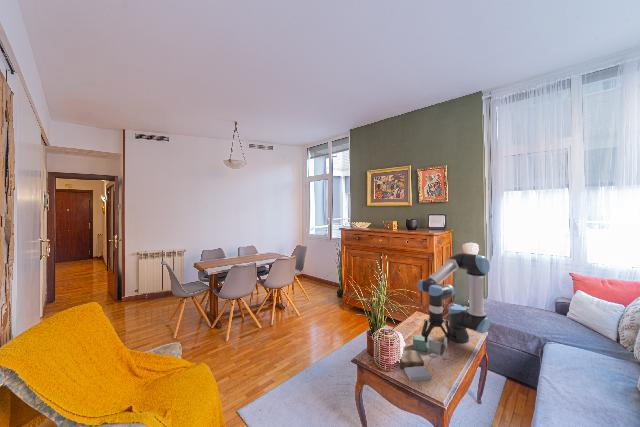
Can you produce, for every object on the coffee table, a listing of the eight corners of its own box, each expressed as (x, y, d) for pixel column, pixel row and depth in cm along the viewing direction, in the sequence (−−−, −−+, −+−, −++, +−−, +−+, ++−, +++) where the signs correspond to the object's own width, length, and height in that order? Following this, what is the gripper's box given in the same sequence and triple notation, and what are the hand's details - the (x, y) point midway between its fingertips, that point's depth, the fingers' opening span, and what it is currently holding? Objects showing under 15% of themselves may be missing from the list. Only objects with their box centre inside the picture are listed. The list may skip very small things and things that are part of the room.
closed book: (423, 369, 163) (423, 365, 163) (430, 379, 154) (430, 375, 154) (404, 371, 162) (404, 367, 162) (410, 381, 153) (410, 377, 153)
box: (433, 352, 181) (433, 342, 181) (412, 349, 186) (412, 339, 186) (433, 347, 188) (432, 336, 188) (412, 344, 193) (412, 334, 192)
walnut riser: (416, 356, 178) (416, 349, 178) (424, 369, 164) (424, 362, 164) (395, 356, 178) (395, 349, 178) (401, 369, 165) (400, 362, 164)
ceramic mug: (432, 348, 169) (431, 336, 168) (445, 353, 163) (444, 340, 162) (424, 356, 161) (424, 343, 161) (438, 361, 155) (437, 348, 155)
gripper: (452, 308, 165) (452, 343, 166) (415, 309, 166) (415, 344, 167) (458, 313, 157) (458, 350, 158) (419, 314, 158) (419, 350, 159)
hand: (436, 347), depth 162 cm, fingers closed on ceramic mug, 10 cm apart
